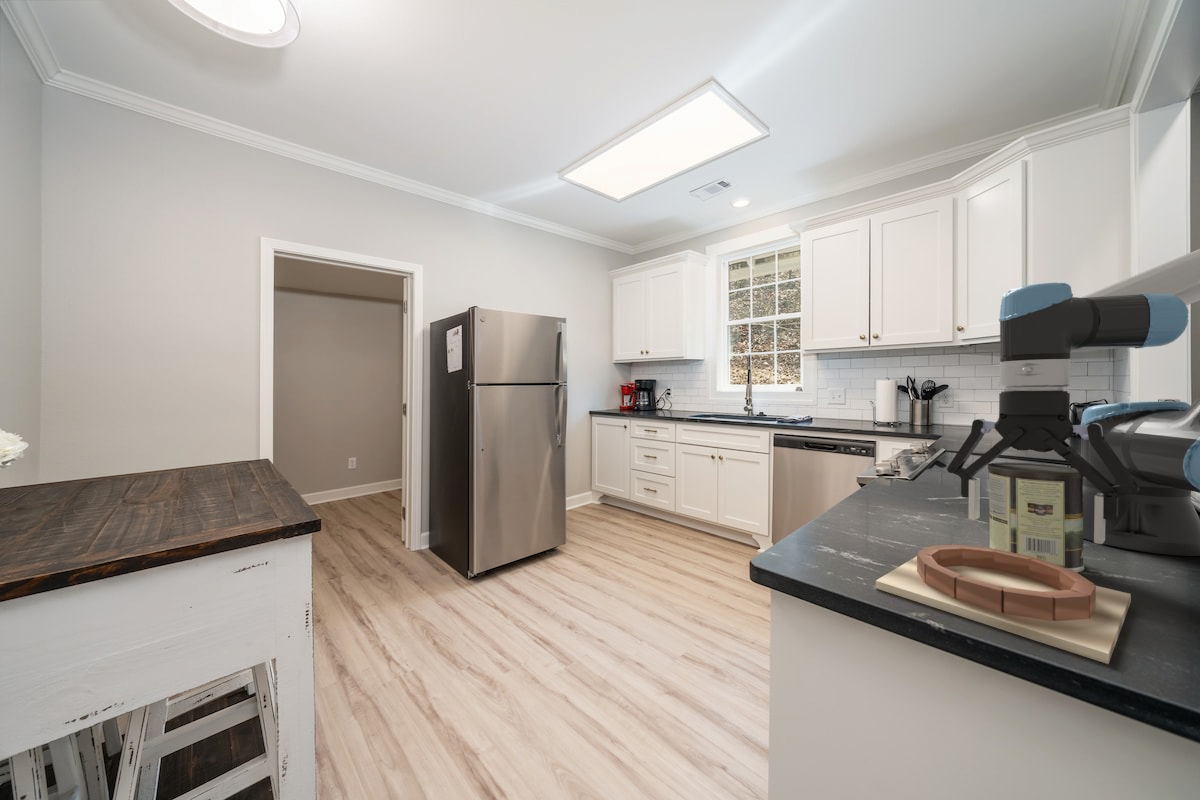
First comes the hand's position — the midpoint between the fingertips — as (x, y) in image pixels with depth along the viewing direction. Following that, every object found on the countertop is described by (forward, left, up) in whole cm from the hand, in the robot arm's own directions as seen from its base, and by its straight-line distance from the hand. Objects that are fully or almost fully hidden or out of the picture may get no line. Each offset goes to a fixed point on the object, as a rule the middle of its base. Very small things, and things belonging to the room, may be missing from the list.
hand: (1031, 529), depth 66 cm
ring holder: (+14, +12, -5) cm, 19 cm away
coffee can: (0, 0, -5) cm, 5 cm away
